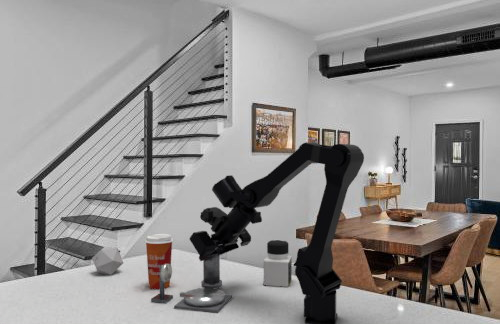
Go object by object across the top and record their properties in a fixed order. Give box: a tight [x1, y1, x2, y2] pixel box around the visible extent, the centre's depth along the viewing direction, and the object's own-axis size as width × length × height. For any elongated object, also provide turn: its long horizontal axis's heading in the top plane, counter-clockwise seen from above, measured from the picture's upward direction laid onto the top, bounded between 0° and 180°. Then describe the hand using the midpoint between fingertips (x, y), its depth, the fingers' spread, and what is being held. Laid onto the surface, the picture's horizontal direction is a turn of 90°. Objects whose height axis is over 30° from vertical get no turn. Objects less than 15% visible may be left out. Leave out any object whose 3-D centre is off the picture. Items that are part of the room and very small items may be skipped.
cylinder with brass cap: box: [200, 247, 223, 289], centre depth 115 cm, size 6×6×10 cm
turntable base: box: [173, 294, 234, 314], centre depth 105 cm, size 11×11×1 cm
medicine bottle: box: [263, 239, 293, 288], centre depth 121 cm, size 7×7×12 cm
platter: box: [179, 287, 226, 306], centre depth 105 cm, size 11×10×1 cm
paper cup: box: [144, 233, 174, 290], centre depth 118 cm, size 8×8×14 cm
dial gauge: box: [150, 264, 174, 304], centre depth 107 cm, size 4×4×9 cm
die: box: [91, 246, 124, 276], centre depth 132 cm, size 8×9×10 cm
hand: (206, 258), depth 116 cm, fingers closed on cylinder with brass cap, 4 cm apart
